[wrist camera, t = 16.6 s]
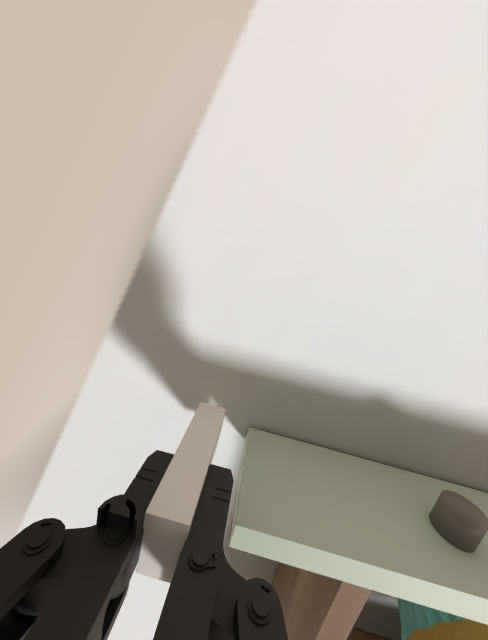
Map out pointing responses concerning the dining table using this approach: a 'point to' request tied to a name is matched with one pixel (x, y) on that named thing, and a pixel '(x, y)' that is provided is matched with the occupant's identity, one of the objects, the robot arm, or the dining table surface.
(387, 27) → the dining table surface
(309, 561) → the grey flat panel
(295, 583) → the holder
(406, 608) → the cupcake
